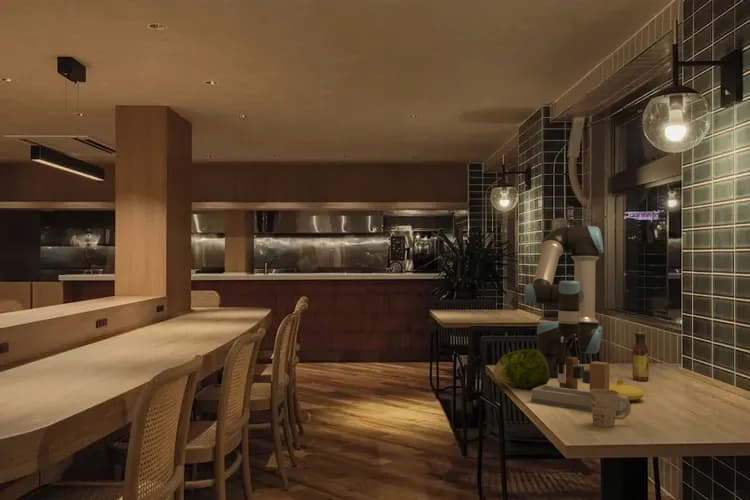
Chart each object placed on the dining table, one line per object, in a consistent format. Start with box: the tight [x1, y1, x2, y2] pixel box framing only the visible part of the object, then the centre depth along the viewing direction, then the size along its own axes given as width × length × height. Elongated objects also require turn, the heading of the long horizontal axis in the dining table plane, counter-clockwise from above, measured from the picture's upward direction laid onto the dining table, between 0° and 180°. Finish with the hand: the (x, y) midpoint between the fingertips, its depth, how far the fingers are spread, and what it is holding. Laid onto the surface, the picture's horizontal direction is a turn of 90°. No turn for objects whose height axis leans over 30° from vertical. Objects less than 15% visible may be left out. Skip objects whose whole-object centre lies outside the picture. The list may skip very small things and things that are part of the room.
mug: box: [588, 389, 632, 428], centre depth 194 cm, size 8×13×10 cm, turn 95°
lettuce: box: [493, 348, 551, 389], centre depth 250 cm, size 16×21×15 cm
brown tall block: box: [558, 355, 585, 390], centre depth 235 cm, size 8×5×14 cm, turn 53°
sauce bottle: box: [632, 332, 650, 382], centre depth 267 cm, size 6×6×20 cm
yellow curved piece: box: [609, 378, 645, 402], centre depth 230 cm, size 16×16×7 cm
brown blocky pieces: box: [530, 360, 628, 416], centre depth 218 cm, size 30×10×16 cm, turn 53°
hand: (568, 380), depth 236 cm, fingers open, 13 cm apart
